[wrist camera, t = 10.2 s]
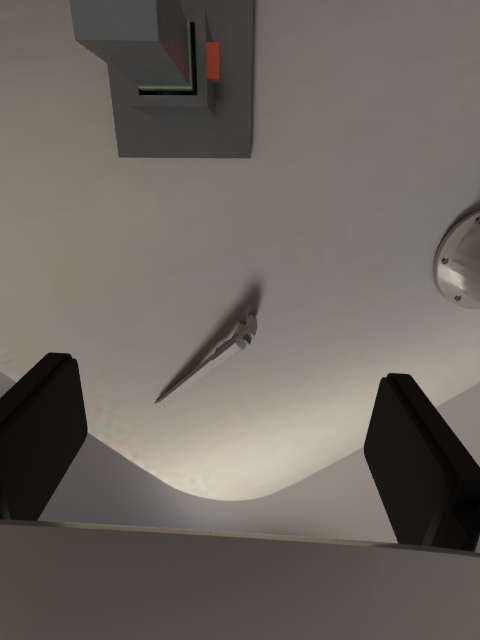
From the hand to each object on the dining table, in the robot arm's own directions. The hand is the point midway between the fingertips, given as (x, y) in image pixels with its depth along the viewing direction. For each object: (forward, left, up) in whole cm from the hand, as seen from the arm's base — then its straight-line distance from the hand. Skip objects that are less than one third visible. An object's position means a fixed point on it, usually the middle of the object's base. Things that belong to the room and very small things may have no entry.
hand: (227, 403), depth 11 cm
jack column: (+6, -14, -26) cm, 30 cm away
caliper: (+5, +19, -35) cm, 40 cm away
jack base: (+6, -14, -34) cm, 37 cm away
